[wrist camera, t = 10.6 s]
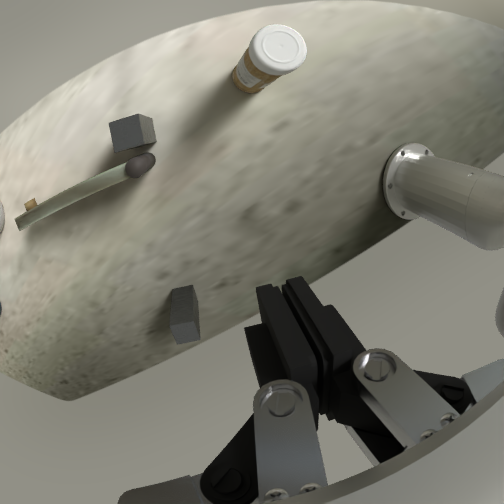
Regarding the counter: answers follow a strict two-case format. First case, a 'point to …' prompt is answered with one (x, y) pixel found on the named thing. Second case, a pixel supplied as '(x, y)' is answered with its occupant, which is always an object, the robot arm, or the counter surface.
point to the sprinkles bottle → (269, 57)
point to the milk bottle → (1, 217)
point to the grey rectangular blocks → (184, 298)
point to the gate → (85, 189)
